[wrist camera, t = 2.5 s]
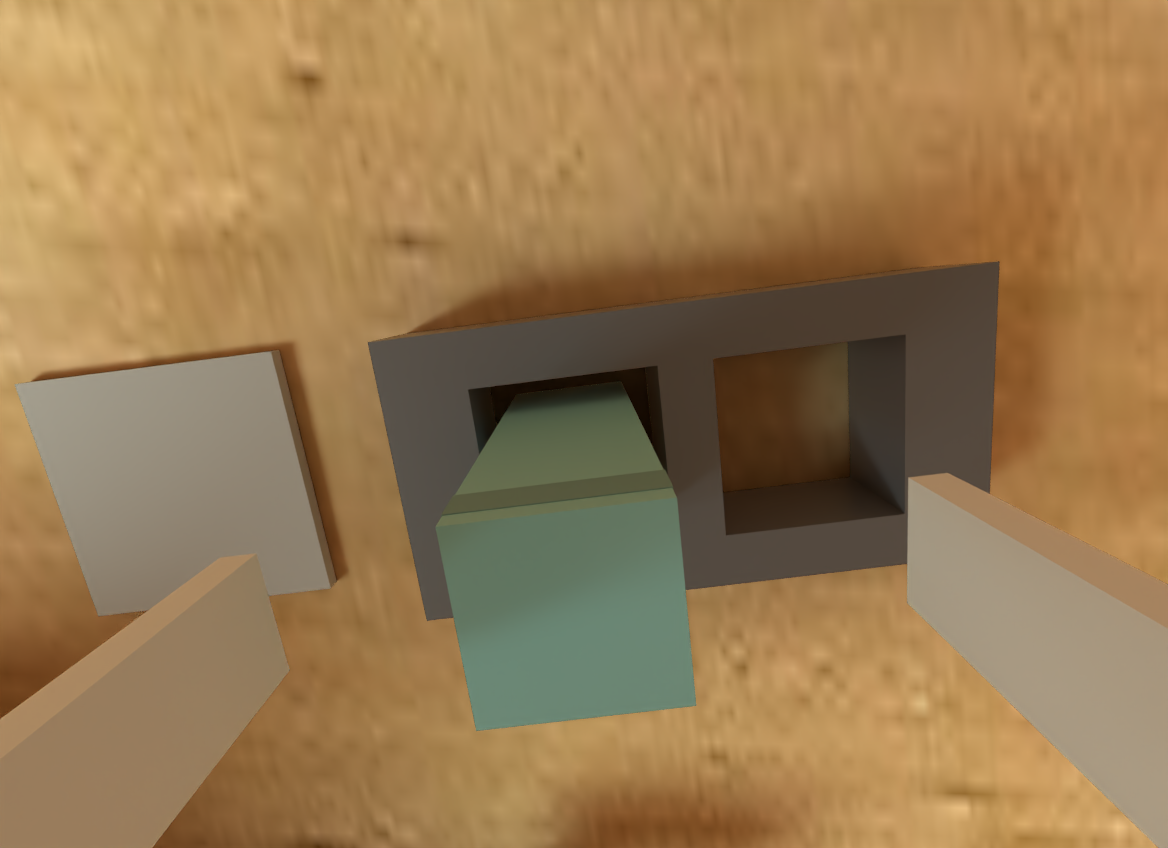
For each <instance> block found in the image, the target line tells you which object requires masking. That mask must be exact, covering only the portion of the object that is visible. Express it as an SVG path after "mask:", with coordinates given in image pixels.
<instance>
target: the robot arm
mask: <svg viewBox="0 0 1168 848" xmlns="http://www.w3.org/2000/svg"><path fill="white" fill-rule="evenodd" d="M907 603H908V604H909V605H910V606H911V607H912V608H913V609H914V610H915V611H916V612H917V613H918V614H919V615H920V616H921V617H922V618H923V619H924V620H925V621H926V622H927V623H928V624H929V625H930V626H931V627H932V628H933V629H934V630H935V631H937V632H938V633H939V634H940V635H941V636H942V637H943V638H944V639H945V640H946V641H947V642H948V643H949V644H950V645H951V646H952V647H953V648H954V649H955V650H956V651H957V652H958V653H959V654H960V655H961V656H962V657H963V658H964V659H965V660H966V661H967V662H968V663H969V664H970V665H971V666H972V667H973V668H974V669H976V670H977V671H978V672H979V673H980V674H981V675H982V676H983V677H984V678H985V679H986V680H987V681H988V682H989V683H990V684H991V685H992V686H993V687H994V688H995V689H996V690H997V691H998V692H999V693H1000V694H1001V695H1002V696H1003V697H1004V698H1005V699H1006V700H1007V701H1008V702H1009V703H1010V704H1011V705H1012V706H1013V707H1014V708H1016V709H1017V710H1018V711H1019V712H1020V713H1021V714H1022V715H1023V716H1024V717H1025V718H1026V719H1027V720H1028V721H1029V722H1030V723H1031V724H1032V725H1033V726H1034V727H1035V728H1036V729H1037V730H1038V731H1039V732H1040V733H1041V734H1042V735H1043V736H1044V737H1045V738H1046V739H1047V740H1048V741H1049V742H1050V743H1051V744H1052V745H1053V746H1055V747H1056V748H1057V749H1058V750H1059V751H1060V752H1061V753H1062V754H1063V755H1064V756H1065V757H1066V758H1067V759H1068V760H1069V761H1070V762H1071V763H1072V764H1073V765H1074V766H1075V767H1076V768H1077V769H1078V770H1079V771H1080V772H1081V773H1082V774H1083V775H1084V776H1085V777H1086V778H1087V779H1088V780H1089V781H1090V782H1091V783H1092V784H1093V785H1095V786H1096V787H1097V788H1098V789H1099V790H1100V791H1101V792H1102V793H1103V794H1104V795H1105V796H1106V797H1107V798H1108V799H1109V800H1110V801H1111V802H1112V803H1113V804H1114V805H1115V806H1116V807H1117V808H1118V809H1119V810H1120V811H1121V812H1122V813H1123V814H1124V815H1125V816H1126V817H1127V818H1128V819H1129V820H1130V821H1131V822H1132V823H1134V824H1135V825H1136V826H1137V827H1138V828H1139V829H1140V830H1141V831H1142V832H1143V833H1144V834H1145V835H1146V836H1147V837H1148V838H1149V839H1150V840H1151V841H1152V842H1153V843H1154V844H1155V845H1156V846H1157V847H1158V848H1168V584H1166V583H1164V582H1162V581H1160V580H1158V579H1156V578H1154V577H1152V576H1150V575H1148V574H1146V573H1144V572H1142V571H1141V570H1139V569H1137V568H1135V567H1133V566H1131V565H1129V564H1127V563H1125V562H1123V561H1121V560H1119V559H1117V558H1115V557H1113V556H1111V555H1109V554H1107V553H1105V552H1103V551H1101V550H1099V549H1097V548H1095V547H1093V546H1091V545H1089V544H1087V543H1085V542H1083V541H1081V540H1079V539H1077V538H1075V537H1073V536H1071V535H1069V534H1067V533H1065V532H1064V531H1062V530H1060V529H1058V528H1056V527H1054V526H1052V525H1050V524H1048V523H1046V522H1044V521H1042V520H1040V519H1038V518H1036V517H1034V516H1032V515H1030V514H1028V513H1026V512H1024V511H1022V510H1020V509H1018V508H1016V507H1014V506H1012V505H1010V504H1008V503H1006V502H1004V501H1002V500H1000V499H998V498H996V497H994V496H992V495H990V494H989V493H987V492H985V491H983V490H981V489H979V488H977V487H975V486H973V485H971V484H969V483H967V482H965V481H963V480H961V479H959V478H957V477H955V476H953V475H951V474H949V473H942V474H934V475H925V476H917V477H908V552H907ZM289 671H290V669H289V666H288V662H287V659H286V655H285V652H284V648H283V645H282V641H281V638H280V634H279V631H278V627H277V624H276V620H275V617H274V613H273V610H272V606H271V603H270V599H269V596H268V592H267V589H266V585H265V582H264V578H263V575H262V571H261V568H260V564H259V561H258V557H257V554H256V553H255V554H247V555H238V556H229V557H221V558H219V559H217V560H216V561H215V562H213V563H212V564H210V565H209V566H208V567H206V568H205V569H204V570H202V571H201V572H200V573H198V574H197V575H196V576H194V577H193V578H191V579H190V580H189V581H187V582H186V583H185V584H183V585H182V586H181V587H179V588H178V589H176V590H175V591H174V592H172V593H171V594H170V595H168V596H167V597H166V598H164V599H163V600H161V601H160V602H159V603H157V604H156V605H155V606H153V607H152V608H151V609H149V610H148V611H146V612H145V613H144V614H142V615H141V616H140V617H138V618H137V619H136V620H134V621H133V622H131V623H130V624H129V625H127V626H126V627H125V628H123V629H122V630H121V631H119V632H118V633H117V634H115V635H114V636H112V637H111V638H110V639H108V640H107V641H106V642H104V643H103V644H102V645H100V646H99V647H97V648H96V649H95V650H93V651H92V652H91V653H89V654H88V655H87V656H85V657H84V658H82V659H81V660H80V661H78V662H77V663H76V664H74V665H73V666H72V667H70V668H69V669H67V670H66V671H65V672H63V673H62V674H61V675H59V676H58V677H57V678H55V679H54V680H53V681H51V682H50V683H48V684H47V685H46V686H44V687H43V688H42V689H40V690H39V691H38V692H36V693H35V694H33V695H32V696H31V697H29V698H28V699H27V700H25V701H24V702H23V703H21V704H20V705H18V706H17V707H16V708H14V709H13V710H12V711H10V712H9V713H8V714H6V715H5V716H3V717H2V718H1V719H0V848H152V847H153V846H154V845H155V843H156V842H157V841H158V840H159V838H160V837H161V836H162V834H163V833H164V832H165V831H166V829H167V828H168V827H169V825H170V824H171V823H172V822H173V820H174V819H175V818H176V816H177V815H178V814H179V813H180V811H181V810H182V809H183V807H184V806H185V805H186V804H187V802H188V801H189V800H190V798H191V797H192V796H193V794H194V793H195V792H196V791H197V789H198V788H199V787H200V785H201V784H202V783H203V782H204V780H205V779H206V778H207V776H208V775H209V774H210V773H211V771H212V770H213V769H214V767H215V766H216V765H217V764H218V762H219V761H220V760H221V758H222V757H223V756H224V755H225V753H226V752H227V751H228V749H229V748H230V747H231V745H232V744H233V743H234V742H235V740H236V739H237V738H238V736H239V735H240V734H241V733H242V731H243V730H244V729H245V727H246V726H247V725H248V724H249V722H250V721H251V720H252V718H253V717H254V716H255V715H256V713H257V712H258V711H259V709H260V708H261V707H262V706H263V704H264V703H265V702H266V700H267V699H268V698H269V696H270V695H271V694H272V693H273V691H274V690H275V689H276V687H277V686H278V685H279V684H280V682H281V681H282V680H283V678H284V677H285V676H286V675H287V673H288V672H289Z"/></svg>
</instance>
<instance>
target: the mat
mask: <svg viewBox="0 0 1168 848" xmlns="http://www.w3.org/2000/svg"><path fill="white" fill-rule="evenodd" d="M15 387H16V390H17V393H18V395H19V398H20V401H21V404H22V406H23V409H24V412H25V415H26V417H27V420H28V423H29V426H30V428H31V431H32V434H33V437H34V440H35V442H36V445H37V448H38V451H39V453H40V456H41V459H42V462H43V464H44V467H45V470H46V473H47V476H48V478H49V481H50V484H51V487H52V489H53V492H54V495H55V498H56V500H57V503H58V506H59V509H60V512H61V514H62V517H63V520H64V523H65V525H66V528H67V531H68V534H69V536H70V539H71V542H72V545H73V548H74V550H75V553H76V556H77V559H78V561H79V564H80V567H81V570H82V572H83V575H84V578H85V581H86V584H87V586H88V589H89V592H90V595H91V597H92V600H93V603H94V606H95V608H96V611H97V614H98V616H105V615H114V614H122V613H130V612H139V611H147V610H149V609H151V608H152V607H153V606H155V605H156V604H157V603H159V602H160V601H161V600H163V599H164V598H166V597H167V596H168V595H170V594H171V593H172V592H174V591H175V590H176V589H178V588H179V587H181V586H182V585H183V584H185V583H186V582H187V581H189V580H190V579H191V578H193V577H194V576H196V575H197V574H198V573H200V572H201V571H202V570H204V569H205V568H206V567H208V566H209V565H210V564H212V563H213V562H215V561H216V560H217V559H219V558H221V557H229V556H238V555H247V554H255V553H256V554H257V557H258V561H259V564H260V568H261V571H262V575H263V578H264V582H265V585H266V589H267V592H268V596H272V595H281V594H289V593H297V592H306V591H314V590H322V589H331V588H332V586H333V585H334V584H335V583H336V582H337V581H336V577H335V573H334V568H333V564H332V560H331V556H330V552H329V548H328V544H327V540H326V536H325V532H324V528H323V524H322V520H321V516H320V512H319V508H318V504H317V500H316V496H315V492H314V488H313V484H312V480H311V476H310V472H309V468H308V464H307V460H306V456H305V452H304V448H303V444H302V440H301V436H300V432H299V428H298V424H297V420H296V416H295V412H294V408H293V404H292V400H291V396H290V392H289V388H288V384H287V380H286V376H285V372H284V368H283V364H282V360H281V356H280V351H279V350H274V351H266V352H259V353H251V354H243V355H235V356H228V357H220V358H212V359H204V360H196V361H189V362H181V363H173V364H165V365H157V366H150V367H142V368H134V369H126V370H118V371H111V372H103V373H95V374H87V375H80V376H72V377H64V378H56V379H48V380H41V381H33V382H26V383H20V384H15Z"/></svg>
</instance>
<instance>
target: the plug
mask: <svg viewBox="0 0 1168 848" xmlns="http://www.w3.org/2000/svg"><path fill="white" fill-rule="evenodd" d="M436 532H437V537H438V542H439V547H440V552H441V557H442V562H443V567H444V572H445V577H446V582H447V587H448V592H449V597H450V602H451V607H452V612H453V617H454V622H455V627H456V632H457V637H458V642H459V647H460V652H461V657H462V662H463V667H464V672H465V677H466V682H467V687H468V692H469V697H470V702H471V707H472V712H473V717H474V722H475V727H476V731H480V730H489V729H498V728H507V727H515V726H524V725H533V724H542V723H550V722H559V721H568V720H577V719H585V718H594V717H603V716H612V715H620V714H629V713H638V712H647V711H655V710H664V709H673V708H682V707H690V706H696V698H695V687H694V676H693V665H692V654H691V644H690V633H689V622H688V611H687V600H686V590H685V579H684V568H683V557H682V547H681V536H680V525H679V514H678V503H677V497H676V495H675V492H674V489H673V485H672V483H671V481H670V479H669V477H668V475H667V473H666V471H665V469H664V470H663V467H662V465H661V463H660V461H659V459H658V457H657V455H656V453H655V451H654V449H653V447H652V445H651V442H650V440H649V438H648V436H647V434H646V432H645V430H644V428H643V426H642V424H641V422H640V420H639V417H638V415H637V413H636V411H635V409H634V407H633V405H632V403H631V401H630V399H629V397H628V395H627V392H626V390H625V388H624V386H623V384H622V382H621V381H617V382H609V383H601V384H593V385H585V386H577V387H569V388H561V389H553V390H545V391H537V392H529V393H521V394H516V396H515V397H514V399H513V401H512V402H511V404H510V405H509V407H508V409H507V410H506V412H505V414H504V415H503V417H502V419H501V420H500V422H499V423H498V425H497V427H496V428H495V430H494V432H493V433H492V435H491V437H490V438H489V440H488V442H487V443H486V445H485V446H484V448H483V450H482V451H481V453H480V455H479V456H478V458H477V460H476V461H475V463H474V464H473V466H472V468H471V469H470V471H469V473H468V474H467V476H466V478H465V479H464V481H463V482H462V484H461V486H460V487H459V489H458V491H457V492H456V494H455V495H453V496H452V498H451V499H450V501H449V503H448V504H447V506H446V507H445V509H444V511H443V512H442V514H441V519H440V520H439V522H438V523H437V525H436Z"/></svg>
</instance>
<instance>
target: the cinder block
mask: <svg viewBox="0 0 1168 848" xmlns="http://www.w3.org/2000/svg"><path fill="white" fill-rule="evenodd" d="M998 283H999V261H998V262H985V263H972V264H959V265H946V266H933V267H921V268H913V269H905V270H897V271H890V272H882V273H874V274H866V275H858V276H851V277H843V278H835V279H827V280H819V281H812V282H804V283H796V284H788V285H781V286H773V287H765V288H757V289H749V290H742V291H734V292H726V293H718V294H710V295H703V296H695V297H687V298H679V299H671V300H664V301H656V302H648V303H640V304H633V305H625V306H617V307H609V308H601V309H594V310H586V311H578V312H570V313H562V314H555V315H547V316H539V317H531V318H524V319H516V320H508V321H500V322H492V323H485V324H477V325H469V326H461V327H453V328H446V329H438V330H430V331H422V332H414V333H407V334H402V335H398V336H393V337H389V338H385V339H380V340H376V341H372V342H368V346H369V350H370V355H371V360H372V365H373V369H374V374H375V379H376V383H377V388H378V393H379V398H380V402H381V407H382V412H383V416H384V421H385V426H386V431H387V435H388V440H389V445H390V449H391V454H392V459H393V464H394V468H395V473H396V478H397V482H398V487H399V492H400V497H401V501H402V506H403V511H404V515H405V520H406V525H407V529H408V534H409V539H410V544H411V548H412V553H413V558H414V562H415V567H416V572H417V577H418V581H419V586H420V591H421V595H422V600H423V605H424V610H425V614H426V619H427V621H428V620H436V619H445V618H453V612H452V607H451V602H450V597H449V592H448V587H447V582H446V577H445V572H444V567H443V562H442V557H441V552H440V547H439V542H438V537H437V532H436V525H437V523H438V522H439V520H440V519H441V514H442V512H443V511H444V509H445V507H446V506H447V504H448V503H449V501H450V499H451V498H452V496H453V495H455V494H456V492H457V491H458V489H459V487H460V486H461V484H462V482H463V481H464V479H465V478H466V476H467V474H468V473H469V471H470V469H471V468H472V466H473V464H474V463H475V461H476V460H477V458H478V456H479V455H480V453H481V451H482V450H483V448H484V446H485V445H486V443H487V442H488V440H489V438H490V437H491V435H492V433H493V432H494V430H495V428H496V421H495V415H494V409H493V403H492V397H491V391H490V387H492V386H500V385H508V384H516V383H524V382H531V381H539V380H547V379H555V378H563V377H571V376H579V375H587V374H595V373H603V372H611V371H619V370H627V369H635V368H642V367H645V372H646V382H647V392H648V402H649V412H650V422H651V432H652V442H653V449H654V451H655V453H656V455H657V457H658V459H659V461H660V463H661V465H662V467H663V470H664V469H665V471H666V473H667V475H668V477H669V479H670V481H671V483H672V485H673V489H674V492H675V495H676V497H677V503H678V514H679V525H680V536H681V547H682V557H683V568H684V579H685V590H690V589H698V588H707V587H715V586H724V585H732V584H741V583H749V582H758V581H766V580H774V579H783V578H791V577H800V576H808V575H817V574H825V573H834V572H842V571H851V570H859V569H867V568H876V567H884V566H893V565H901V564H907V552H908V477H917V476H925V475H934V474H942V473H949V474H951V475H953V476H955V477H957V478H959V479H961V480H963V481H965V482H967V483H969V484H971V485H973V486H975V487H977V488H979V489H981V490H983V491H985V492H987V493H989V494H990V474H991V450H992V426H993V402H994V379H995V355H996V331H997V307H998ZM841 342H848V384H849V440H850V477H847V478H839V479H831V480H822V481H814V482H806V483H798V484H790V485H781V486H773V487H765V488H757V489H748V490H740V491H732V492H724V493H723V489H722V475H721V461H720V448H719V434H718V420H717V406H716V393H715V379H714V365H713V359H714V358H722V357H730V356H738V355H745V354H753V353H761V352H769V351H777V350H785V349H793V348H801V347H809V346H817V345H825V344H833V343H841Z"/></svg>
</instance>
